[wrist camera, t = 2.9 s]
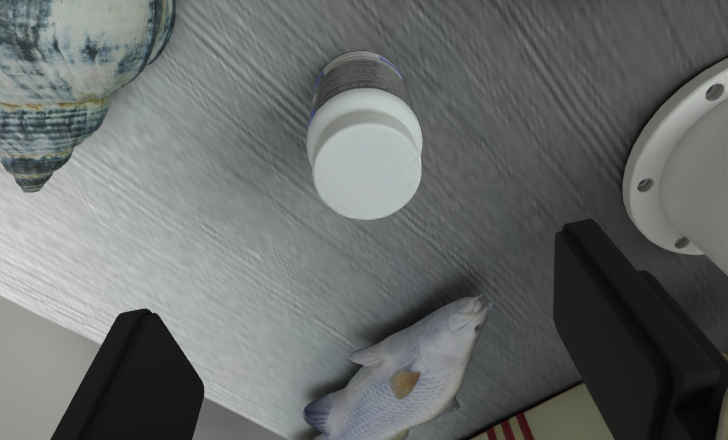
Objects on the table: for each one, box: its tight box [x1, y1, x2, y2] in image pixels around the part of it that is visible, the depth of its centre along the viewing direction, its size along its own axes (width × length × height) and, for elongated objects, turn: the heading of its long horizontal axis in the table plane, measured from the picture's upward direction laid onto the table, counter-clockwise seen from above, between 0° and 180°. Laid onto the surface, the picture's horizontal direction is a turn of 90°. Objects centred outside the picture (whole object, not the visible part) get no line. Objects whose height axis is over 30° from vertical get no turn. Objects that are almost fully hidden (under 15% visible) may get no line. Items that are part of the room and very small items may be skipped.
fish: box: [303, 294, 494, 440], centre depth 34 cm, size 23×4×10 cm
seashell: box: [0, 0, 175, 192], centre depth 19 cm, size 6×8×12 cm
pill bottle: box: [306, 51, 423, 220], centre depth 20 cm, size 5×5×8 cm
